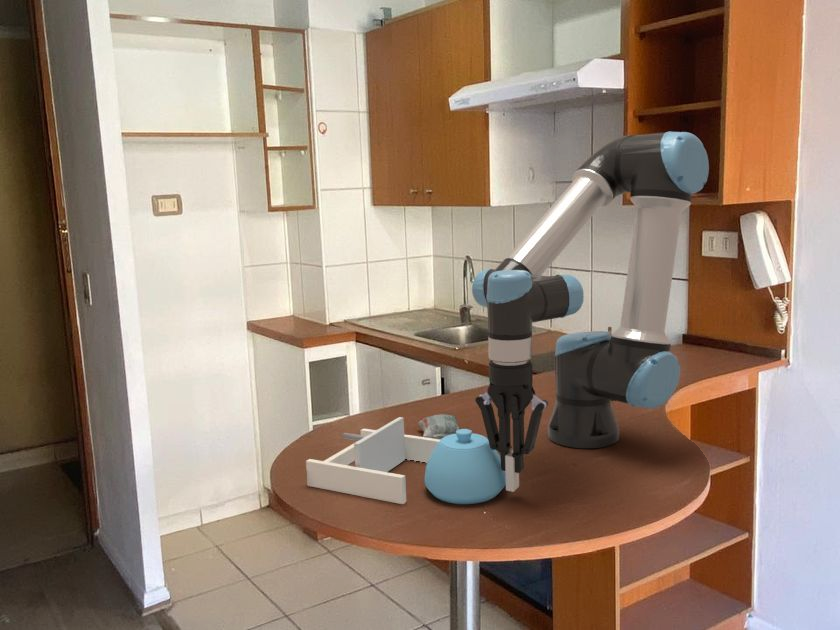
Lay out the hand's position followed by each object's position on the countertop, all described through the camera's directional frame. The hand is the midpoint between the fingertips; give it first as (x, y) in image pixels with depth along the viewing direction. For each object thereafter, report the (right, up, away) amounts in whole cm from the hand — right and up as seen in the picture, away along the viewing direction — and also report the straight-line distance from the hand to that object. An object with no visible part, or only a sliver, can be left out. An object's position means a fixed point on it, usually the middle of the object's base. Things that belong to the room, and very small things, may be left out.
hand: (512, 488), depth 138 cm
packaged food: (-12, +3, +33) cm, 36 cm away
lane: (-24, 0, +13) cm, 27 cm away
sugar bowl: (-8, -2, +5) cm, 10 cm away
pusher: (-27, 0, +15) cm, 31 cm away
